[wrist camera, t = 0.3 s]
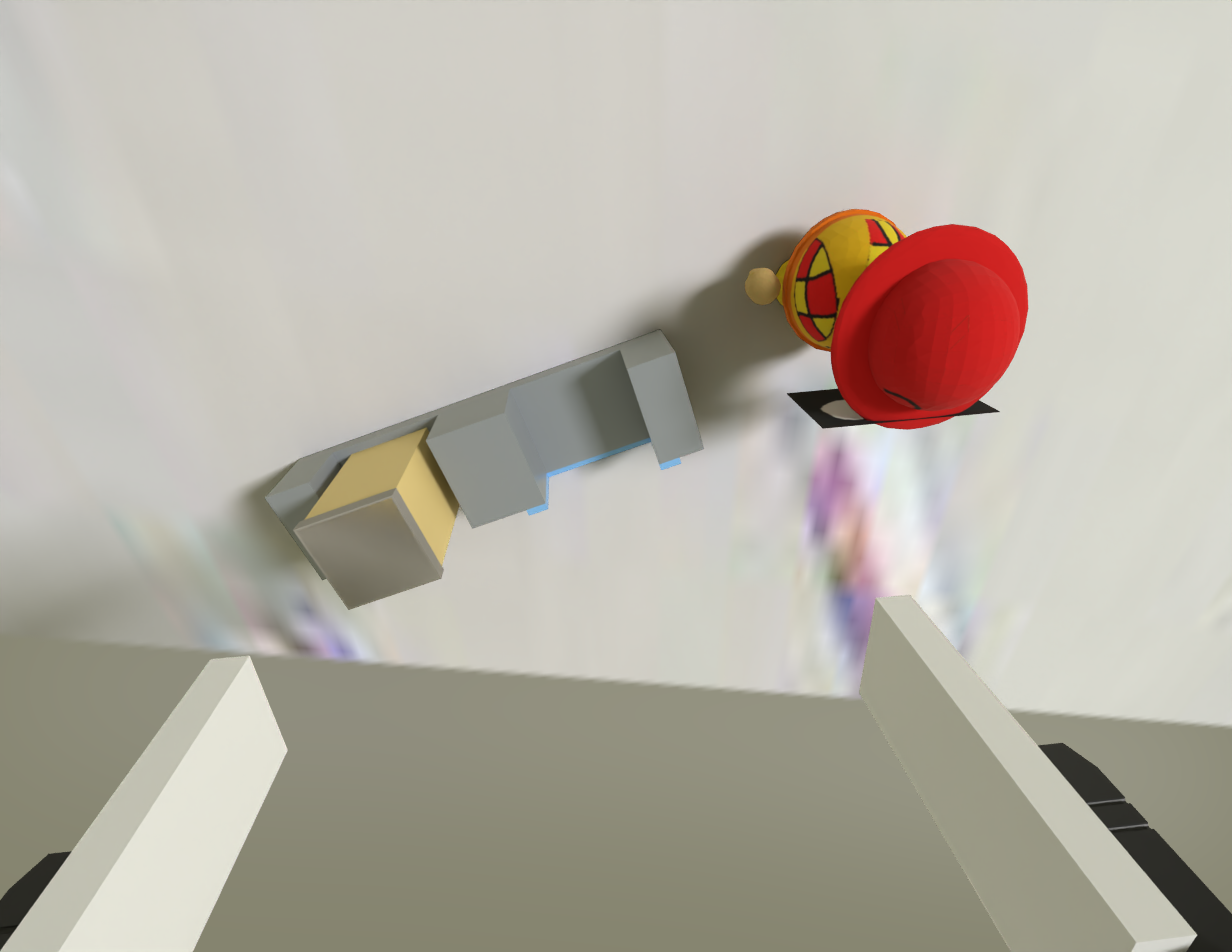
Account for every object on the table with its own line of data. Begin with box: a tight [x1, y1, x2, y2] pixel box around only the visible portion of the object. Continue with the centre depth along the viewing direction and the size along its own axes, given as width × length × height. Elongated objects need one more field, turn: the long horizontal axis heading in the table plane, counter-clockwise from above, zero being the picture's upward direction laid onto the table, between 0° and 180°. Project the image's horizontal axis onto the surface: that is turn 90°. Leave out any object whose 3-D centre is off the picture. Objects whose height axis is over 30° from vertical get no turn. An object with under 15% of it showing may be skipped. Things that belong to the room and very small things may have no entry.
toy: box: [745, 209, 1028, 430], centre depth 30 cm, size 11×9×15 cm
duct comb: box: [265, 330, 704, 580], centre depth 37 cm, size 6×24×5 cm, turn 109°
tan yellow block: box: [293, 427, 460, 610], centre depth 34 cm, size 5×5×9 cm
